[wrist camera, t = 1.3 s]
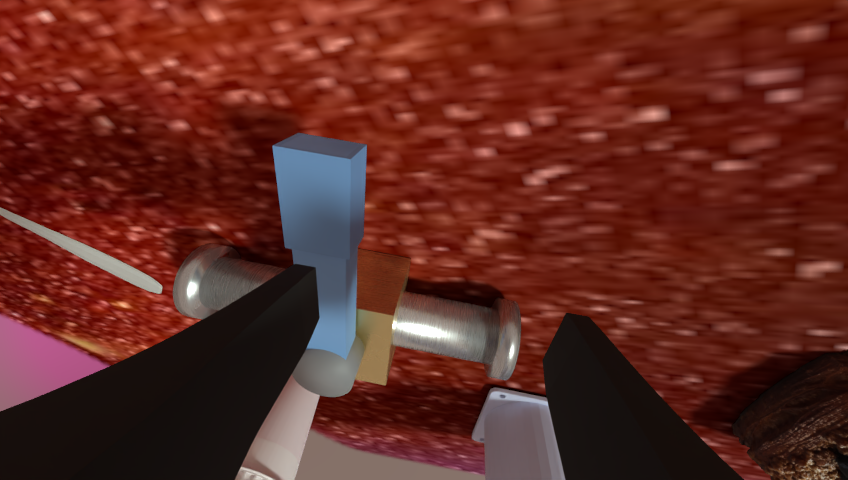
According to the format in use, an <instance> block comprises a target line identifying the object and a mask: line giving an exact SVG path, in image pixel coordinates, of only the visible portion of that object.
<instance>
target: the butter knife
mask: <svg viewBox="0 0 848 480" xmlns="http://www.w3.org/2000/svg"><path fill="white" fill-rule="evenodd" d="M0 215H1V216H3V217H5V218H7V219H9V220H10V221H12V222H14V223H16V224H18V225H20V226H22V227H24V228H26V229H28V230H30V231H32V232H34V233H36V234H38V235H40V236H42V237H44V238H46V239H48V240H50V241H52V242H53V243H55V244H57V245H59V246H60V247H62V248H64V249H66V250H68V251H69V252H71V253H73V254H75V255H77V256H78V257H80V258H82V259H84V260H86V261H88V262H90V263H92V264H94V265H96V266H98V267H100V268H102V269H104V270H106V271H108V272H110V273H112V274H114V275H116V276H118V277H120V278H122V279H124V280H126V281H128V282H130V283H132V284H134V285H136V286H138V287H140V288H143V289H145V290H147V291H150V292H154V293H158V294H160V293H161V292H162V285H161V284H160V283H158V282H157V281H156V280H154V279H153V278H152V277H150V276H149V275H147V274H145V273H143V272H141V271H139V270H137V269H135V268H133V267H131V266H130V265H128V264H126V263H124V262H121V261H119V260H117V259H115V258H113V257H111V256H109V255H107V254H105V253H103V252H100V251H98V250H96V249H94V248H92V247H90V246H87V245H85V244H83V243H81V242H78V241H76V240H74V239H71V238H69V237H67V236H64V235H62V234H60V233H58V232H55V231H53V230H50V229H48V228H46V227H43V226H41V225H39V224H37V223H34V222H32V221H30V220H27V219H25V218H23V217H21V216H18V215H16V214H14V213H12V212H9V211H7V210H5V209H3V208H1V207H0Z"/></svg>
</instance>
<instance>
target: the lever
mask: <svg viewBox="0 0 848 480" xmlns="http://www.w3.org/2000/svg"><path fill="white" fill-rule="evenodd" d="M272 147H273V155H274V163H275V171H276V179H277V187H278V195H279V204H280V212H281V220H282V228H283V236H284V244H285V248H289V249H292V254H293V263H294V264H300V265H306V266H311V267H316V277H317V290H318V303H319V316H320V318H319V321H318V323H317V325H316V328H315V330H314V333H313V335H312V337H311V339H310V342H309V344H308V346H307V348H306V350H305V352H304V354H303V356H302V357H301V359H300V361H299V363H298V364H297V366H296V368H295V369H294V371H293V373H292V376H293V378H294V379H295V380H296V382H297V383H298V384H299V385H301V386H302V387H303V388H305V389H306V390H308V391H310V392H312V393H314V394H317V395H321V396H326V397H339V396H343V395H345V394H347V393H348V392H349V391H350V390H351V388H352V386H353V383H354V380H355V377H356V374H357V372H358V369H359V366H360V363H361V360H362V358H363V355H364V351H365V348H364V344H363V342H362V340H361V339H360V338H359V337H358V336H357V335H356V334H355V333H356V293H357V254H358V245H359V243H360V242H361V240H362V238H363V235H364V207H365V180H366V152H367V145H366V144H360V143H354V142H348V141H343V140H337V139H331V138H325V137H319V136H314V135H308V134H302V133H297V134H295V135H293V136H291V137H289V138H287V139H285V140H283V141H281V142H279V143H277V144H275V145H273V146H272Z"/></svg>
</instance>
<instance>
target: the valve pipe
mask: <svg viewBox="0 0 848 480" xmlns="http://www.w3.org/2000/svg"><path fill="white" fill-rule="evenodd" d="M410 260H411V258H406V257H401V256H396V255H390V254H385V253H380V252H374V251H369V250H364V249H358V254H357V293H356V333H355V334H356V335H357V336H358V337H359V338H360V339H361V340H362V342H363V344H364V348H365V351H364V355H363V358H362V360H361V363H360V366H359V369H358V372H357V374H356V377H355V379H357V380H361V381H366V382H371V383H376V384H381V385H386V383H387V379H388V375H389V371H390V367H391V363H392V359H393V356H394V352H395V348H396V346H399V347H404V348H409V349H414V350H419V351H424V352H429V353H434V354H439V355H444V356H449V357H454V358H459V359H465V360H470V361H475V362H480V363H484V368H485V372H486V375H487V376H488V377H492V378H497V379H502V380H508V379H509V378H510V376H511V375H512V373H513V370H514V368H515V365H516V361H517V357H518V352H519V346H520V336H521V317H520V310H519V307H518V304H517V302H516V301H512V300H507V299H502V298H497V299H496V300H495V301H494V303H493V305H492V308H490V307H485V306H479V305H474V304H469V303H464V302H459V301H453V300H448V299H443V298H438V297H433V296H427V295H422V294H417V293H412V292H406V289H407V282H408V275H409V267H410ZM286 269H287V268H281V267H276V266H271V265H266V264H260V263H255V262H250V261H245V260H241V257H240V255H239V253H238V252H237V251H236V250H235V249H234V248H232V247H229V246H223V245H218V244H211V243H210V244H205V245H202V246H200V247H198V248H197V249H195V250H194V251H193V252H191V253H190V254H189V255H188V256H187V258H186V259H185V260H184V262H183V263H182V265H181V266H180V268H179V270H178V273H177V275H176V278H175V282H174V287H173V298H174V303H175V306H176V308H177V309H178V311H179V312H180V313H181V314H183V315H185V316H188V317H193V318H198V319H204V318H206V317H208V316H210V315H212V314H213V313H215V312H217V311H219V310H221V309H222V308H224V307H226V306H227V305H229V304H231V303H232V302H234V301H236V300H237V299H239V298H241V297H242V296H244V295H245V294H247V293H249V292H250V291H252V290H254V289H255V288H257V287H259V286H260V285H262V284H263V283H265V282H266V281H268V280H270V279H271V278H273V277H274V276H276V275H278V274H279V273H281V272H282V271H284V270H286Z"/></svg>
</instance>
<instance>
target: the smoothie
mask: <svg viewBox="0 0 848 480" xmlns="http://www.w3.org/2000/svg"><path fill="white" fill-rule="evenodd" d="M319 397H320V395H317V394H314V393H312V392H310V391H308V390H306V389H305V388H303V387H302V386H301V385H299V384H298V383H297V382H296V380H295V379H294V378H293V376H292V375H291V376H290V378H289V380H288V381H287V383H286V385H285V387H284V388H283V390H282V392H281V393H280V395H279V397H278V398H277V400H276V402H275V404H274V405H273V407H272V409H271V410H270V412H269V414H268V415H267V417H266V419H265V421H264V422H263V424H262V426H261V428H260V430H259V431H258V433H257V435H256V437H255V439H254V441H253V443H252V445H251V447H250V449H249V451H248V453H247V455H246V457H245V459H244V461H243V464H242V466H241V468H240V470H239V472H238V474H237V476H236V478H235V480H294V479H295V476H296V473H297V470H298V467H299V463H300V459H301V456H302V453H303V450H304V446H305V443H306V439H307V436H308V433H309V430H310V427H311V423H312V420H313V417H314V414H315V410H316V407H317V404H318V400H319Z"/></svg>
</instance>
